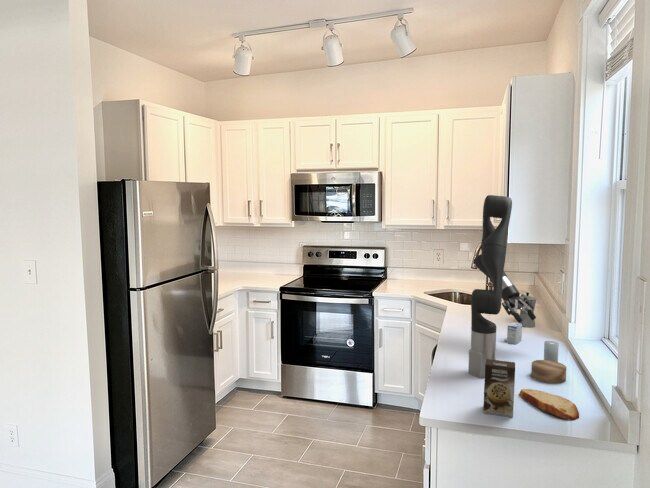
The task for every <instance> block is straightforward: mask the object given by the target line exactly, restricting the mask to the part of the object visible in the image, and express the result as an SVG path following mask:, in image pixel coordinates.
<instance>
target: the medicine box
mask: <svg viewBox="0 0 650 488" xmlns="http://www.w3.org/2000/svg"><path fill="white" fill-rule="evenodd" d="M506 335H507V336H506V344H511V345H518V344H519V343H520V342H521V341H522V339H523V338H522V335H523V327H522V324H521V323H518V322H517V321H516V322H514V321H513V322H511V323H509V324H508V325H507V332H506Z"/></svg>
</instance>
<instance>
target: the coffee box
mask: <svg viewBox="0 0 650 488" xmlns="http://www.w3.org/2000/svg"><path fill="white" fill-rule="evenodd" d="M515 382H516V363H515V362H514V361H507V360H500V359H499V360H497V359H495V360H491V359H486V362H485V378H484V384H483V385H484V387H483V407H482V409H483V410H482V413H484V414H489V415H495V416H500V417H506V418H507V417H508V418H514V406H515V405H514V403H515V402H514V401H515V385H516V383H515Z"/></svg>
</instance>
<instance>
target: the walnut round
mask: <svg viewBox="0 0 650 488" xmlns="http://www.w3.org/2000/svg"><path fill="white" fill-rule="evenodd" d="M530 372H531V373H530V375H531V378H533V379H535V380H536V381H539V382H542V383H546V384H563V383H565V382H566V381H567V366H566V365H565V364H564V363H561V362H559V361H558V362H555V361H550V360H544V359H536V360H533V361H531V370H530Z"/></svg>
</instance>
